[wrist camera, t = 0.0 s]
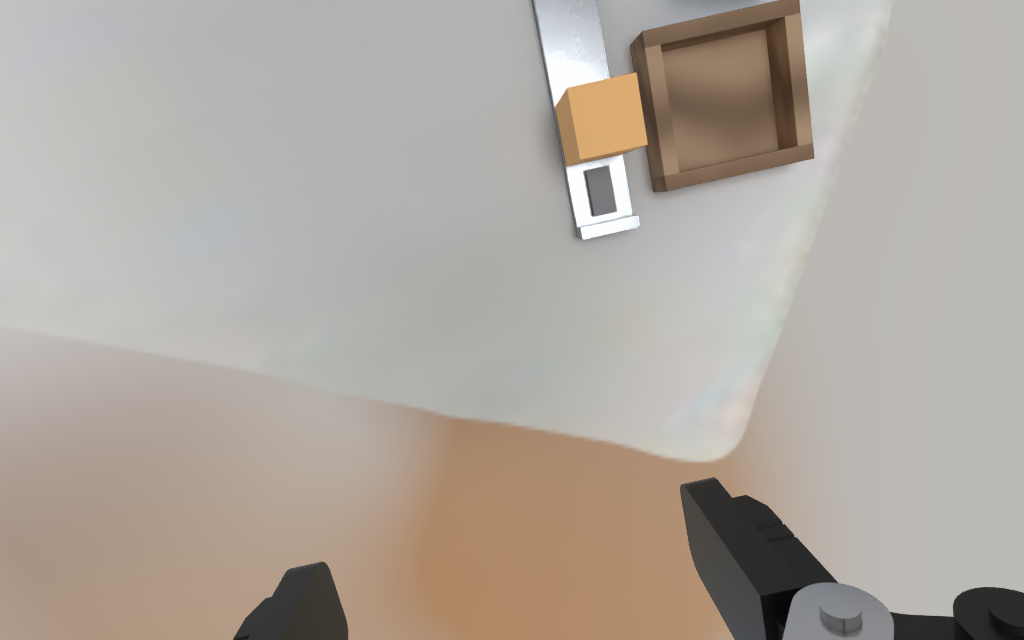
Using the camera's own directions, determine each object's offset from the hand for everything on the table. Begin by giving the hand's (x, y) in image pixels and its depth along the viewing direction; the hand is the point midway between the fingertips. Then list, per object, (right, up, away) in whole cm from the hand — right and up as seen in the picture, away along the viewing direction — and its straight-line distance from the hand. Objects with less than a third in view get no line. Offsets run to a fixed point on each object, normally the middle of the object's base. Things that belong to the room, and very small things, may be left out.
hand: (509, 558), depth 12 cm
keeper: (+14, +20, +26) cm, 36 cm away
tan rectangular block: (+6, +16, +25) cm, 31 cm away
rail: (+5, +21, +26) cm, 34 cm away
